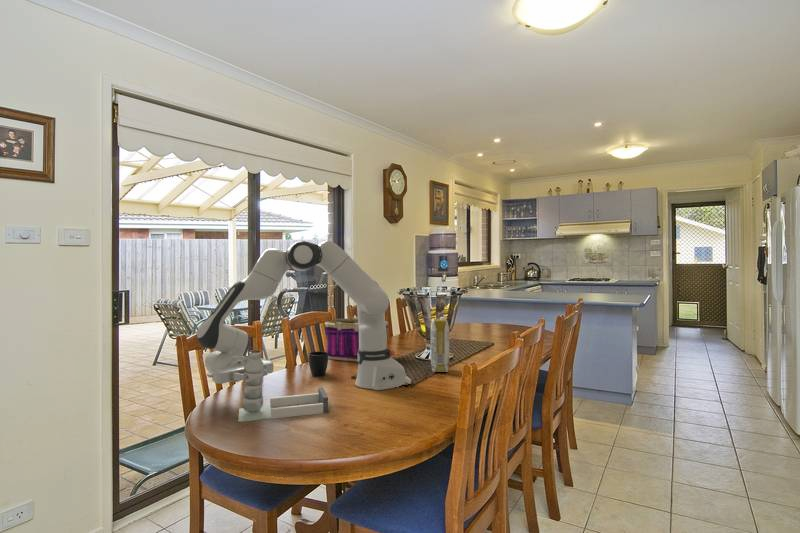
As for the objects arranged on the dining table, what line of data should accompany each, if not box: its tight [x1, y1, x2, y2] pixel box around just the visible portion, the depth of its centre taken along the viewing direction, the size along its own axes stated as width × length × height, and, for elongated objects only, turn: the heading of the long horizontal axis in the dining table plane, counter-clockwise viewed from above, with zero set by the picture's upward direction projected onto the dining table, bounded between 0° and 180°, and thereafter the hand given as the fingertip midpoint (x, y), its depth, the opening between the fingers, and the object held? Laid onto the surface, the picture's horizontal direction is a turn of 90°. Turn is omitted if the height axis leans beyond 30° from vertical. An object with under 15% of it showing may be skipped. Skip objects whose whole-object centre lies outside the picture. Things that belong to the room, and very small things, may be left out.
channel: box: [269, 386, 329, 420], centre depth 153 cm, size 18×12×5 cm
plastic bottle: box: [241, 349, 265, 412], centre depth 149 cm, size 6×7×20 cm
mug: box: [308, 350, 329, 378], centre depth 198 cm, size 8×12×10 cm
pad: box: [237, 404, 272, 423], centre depth 149 cm, size 10×12×1 cm
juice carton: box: [430, 316, 450, 372], centre depth 202 cm, size 9×8×24 cm
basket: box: [324, 282, 389, 363], centre depth 229 cm, size 31×20×40 cm, turn 69°
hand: (255, 375), depth 148 cm, fingers closed on plastic bottle, 6 cm apart
